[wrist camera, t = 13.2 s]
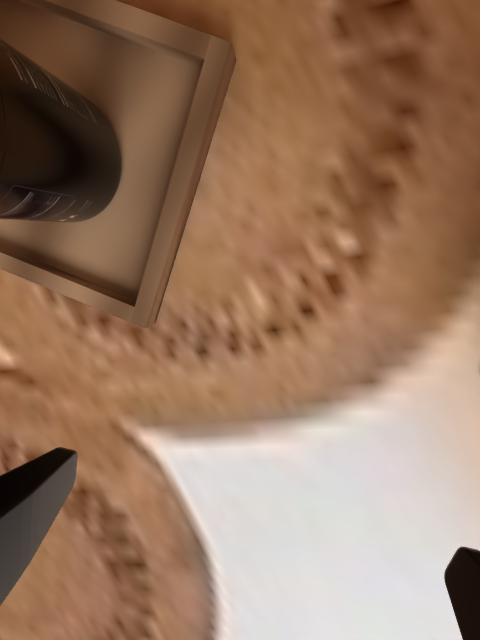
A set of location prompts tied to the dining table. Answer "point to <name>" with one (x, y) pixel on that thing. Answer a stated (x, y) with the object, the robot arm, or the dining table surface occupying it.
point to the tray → (121, 146)
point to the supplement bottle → (52, 146)
